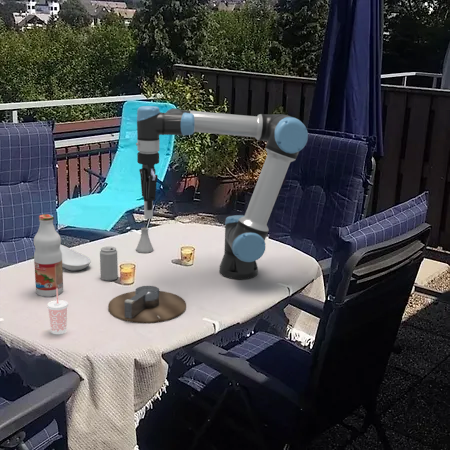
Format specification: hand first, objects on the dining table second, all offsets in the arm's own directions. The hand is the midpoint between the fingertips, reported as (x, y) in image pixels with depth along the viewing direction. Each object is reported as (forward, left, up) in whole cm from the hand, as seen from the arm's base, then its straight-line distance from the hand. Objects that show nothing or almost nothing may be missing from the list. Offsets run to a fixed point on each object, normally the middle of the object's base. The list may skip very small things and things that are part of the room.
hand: (148, 218), depth 223 cm
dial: (+9, +20, -25) cm, 33 cm away
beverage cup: (+37, +25, -27) cm, 52 cm away
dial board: (+6, +17, -26) cm, 32 cm away
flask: (-12, -42, -27) cm, 51 cm away
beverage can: (+11, -14, -27) cm, 32 cm away
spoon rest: (+23, -35, -27) cm, 50 cm away
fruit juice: (+34, -8, -27) cm, 44 cm away
